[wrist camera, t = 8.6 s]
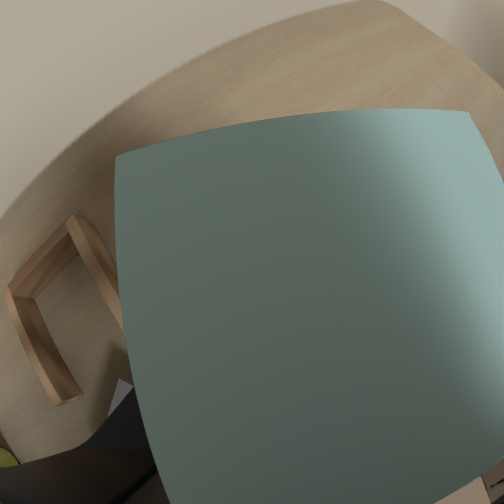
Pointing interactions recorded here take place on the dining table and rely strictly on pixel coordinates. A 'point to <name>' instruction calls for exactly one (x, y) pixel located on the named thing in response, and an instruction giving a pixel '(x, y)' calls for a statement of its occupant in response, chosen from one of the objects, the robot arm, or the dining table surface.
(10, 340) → the dining table surface
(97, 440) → the robot arm
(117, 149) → the dining table surface
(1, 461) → the plant pot
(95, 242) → the walled lane
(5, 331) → the dining table surface
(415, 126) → the block
